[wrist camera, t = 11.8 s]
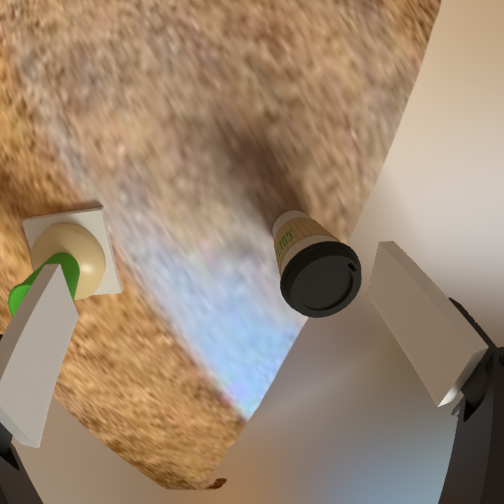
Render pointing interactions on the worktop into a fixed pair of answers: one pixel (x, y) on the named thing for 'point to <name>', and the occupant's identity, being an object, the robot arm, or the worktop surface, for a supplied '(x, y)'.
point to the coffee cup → (314, 266)
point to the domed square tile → (76, 247)
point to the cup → (19, 291)
